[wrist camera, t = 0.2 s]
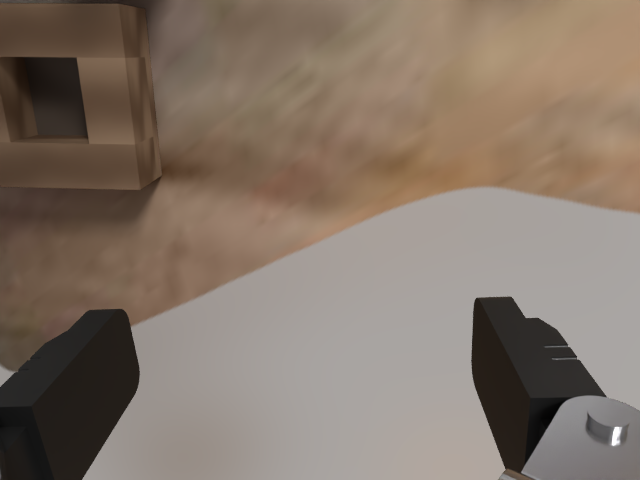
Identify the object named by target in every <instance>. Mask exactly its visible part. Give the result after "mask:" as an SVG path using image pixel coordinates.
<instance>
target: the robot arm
mask: <svg viewBox="0 0 640 480" xmlns="http://www.w3.org/2000/svg"><path fill="white" fill-rule="evenodd" d="M471 361H472V374H473V380H474V385H475V388H476V391H477V394H478V396H479V399H480V402H481V404H482V407H483V410H484V412H485V415H486V418H487V420H488V423H489V426H490V429H491V431H492V434H493V437H494V440H495V442H496V445H497V448H498V450H499V453H500V456H501V458H502V461H503V464H504V466H505V469H506V470H505V471H504V472H503V473H502V475H501V476H500V477H499V479H498V480H640V411H639V410H637V409H636V408H634V407H632V406H630V405H628V404H626V403H623V402H620V401H618V400H614V399H611V398H607V397H606V395H605V394H604V393H603V391H602V390H601V389H600V387H599V386H598V384H597V383H596V382H595V380H594V379H593V378H592V376H591V375H590V374H589V373H588V371H587V370H586V368H585V367H584V366H583V364H582V363H581V361H580V360H577V356H576V355H575V353H574V352H573V351H572V349H571V348H570V347H568V344H567V343H566V341H565V340H564V338H563V337H562V336H561V334H560V333H559V332H558V331H557V330H556V329H555V328H553V327H552V326H550V325H549V324H547V323H545V322H544V321H542V320H541V319H539V318H525V316H524V315H523V313H522V312H521V310H520V309H519V307H518V306H517V304H516V303H515V301H514V299H513V298H512V297H486V298H476V299H475V302H474V311H473V336H472V360H471ZM18 370H19V371H18V372H15V373H14V374H13V375H12V376H11V377H10V378H9V379H8V380H7V381H6V382H5V383H4V384H3V385H2V386H1V387H0V480H82V479H83V477H84V475H85V474H86V472H87V470H88V469H89V467H90V466H91V464H92V463H93V461H94V459H95V458H96V456H97V454H98V453H99V451H100V450H101V448H102V446H103V445H104V443H105V442H106V440H107V438H108V437H109V435H110V434H111V432H112V430H113V429H114V427H115V426H116V424H117V422H118V421H119V419H120V417H121V416H122V414H123V413H124V411H125V409H126V408H127V406H128V404H129V403H130V401H131V400H132V398H133V397H134V395H135V393H136V391H137V388H138V384H139V375H140V371H139V364H138V359H137V355H136V350H135V345H134V341H133V337H132V332H131V327H130V322H129V318H128V316H127V314H126V312H125V311H124V310H123V309H105V310H89V311H87V312H86V313H85V314H84V315H83V316H82V317H81V318H80V319H79V320H78V321H77V322H76V323H75V324H74V325H73V326H72V327H71V328H70V329H69V330H68V331H66V332H64V333H62V334H61V335H59V336H57V337H56V338H54V339H52V340H50V341H49V342H47V343H45V344H44V345H43V346H42V347H41V348H40V349H39V350H38V351H37V352H36V353H35V354H34V355H33V356H32V357H31V359H30V361H27V362H26V363H24V364H23V365H22V366H21V367H20V368H19V369H18Z"/></svg>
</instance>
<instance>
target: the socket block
mask: <svg viewBox="0 0 640 480" xmlns="http://www.w3.org/2000/svg"><path fill="white" fill-rule="evenodd" d="M160 176H162V171H161V161H160V151H159V141H158V132H157V122H156V112H155V102H154V92H153V82H152V72H151V62H150V52H149V42H148V32H147V22H146V12H145V9H143V8H138V7H133V6H128V5H122V4H70V3H0V187H29V188H74V189H120V190H141V189H142V188H144V187H145V186H147V185H148V184H150V183H151V182H153V181H154V180H156V179H157V178H159V177H160Z"/></svg>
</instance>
